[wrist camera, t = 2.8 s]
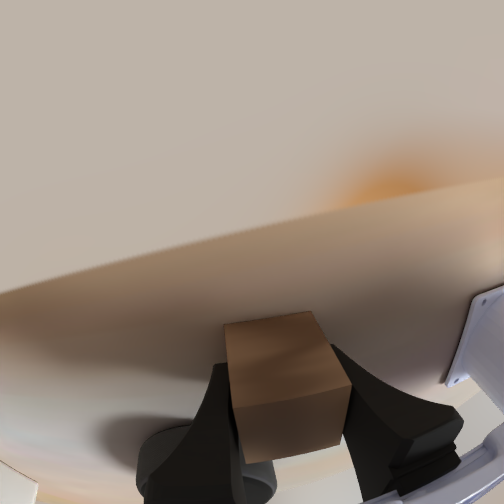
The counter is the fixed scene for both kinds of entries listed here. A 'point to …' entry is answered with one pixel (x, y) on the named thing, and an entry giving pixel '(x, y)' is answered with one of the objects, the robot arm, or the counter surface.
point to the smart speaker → (254, 474)
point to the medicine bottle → (16, 487)
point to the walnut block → (285, 387)
